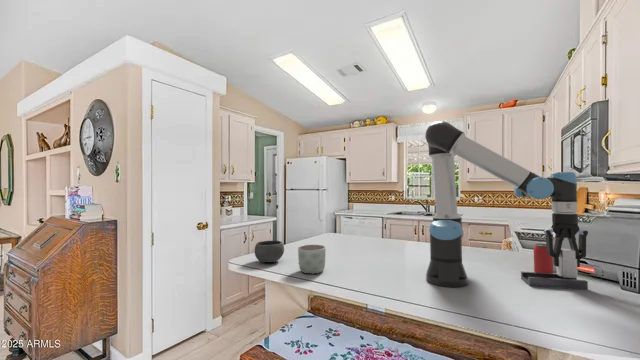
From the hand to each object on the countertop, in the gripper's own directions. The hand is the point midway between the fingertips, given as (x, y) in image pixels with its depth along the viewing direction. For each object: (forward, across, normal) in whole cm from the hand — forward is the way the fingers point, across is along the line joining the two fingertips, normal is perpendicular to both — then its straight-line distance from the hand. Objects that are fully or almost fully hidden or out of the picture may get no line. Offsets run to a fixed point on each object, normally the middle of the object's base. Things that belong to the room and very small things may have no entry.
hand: (566, 275), depth 112 cm
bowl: (+3, -125, +7) cm, 125 cm away
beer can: (+4, -2, +15) cm, 16 cm away
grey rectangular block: (0, 0, 0) cm, 0 cm away
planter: (+3, -99, -4) cm, 99 cm away
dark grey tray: (+4, -5, 0) cm, 6 cm away
